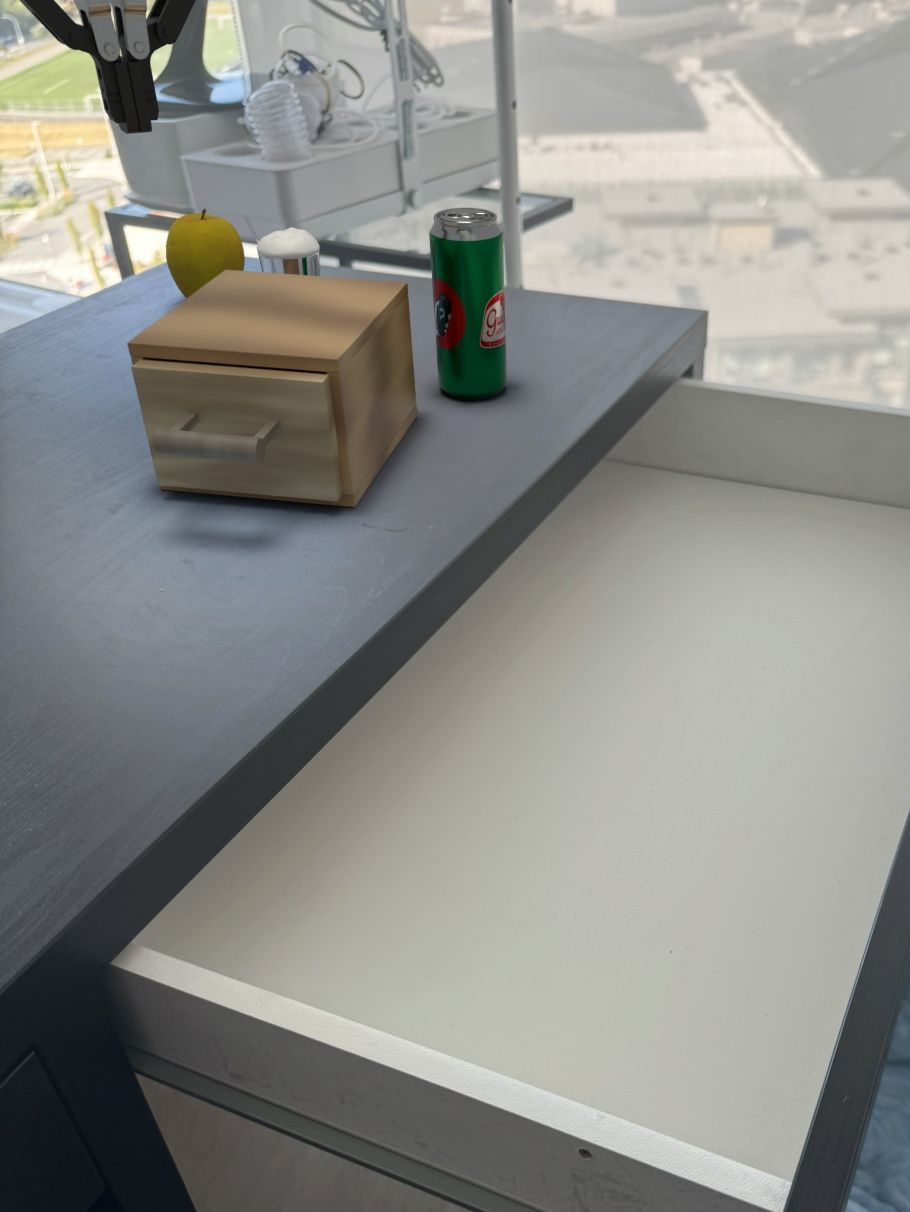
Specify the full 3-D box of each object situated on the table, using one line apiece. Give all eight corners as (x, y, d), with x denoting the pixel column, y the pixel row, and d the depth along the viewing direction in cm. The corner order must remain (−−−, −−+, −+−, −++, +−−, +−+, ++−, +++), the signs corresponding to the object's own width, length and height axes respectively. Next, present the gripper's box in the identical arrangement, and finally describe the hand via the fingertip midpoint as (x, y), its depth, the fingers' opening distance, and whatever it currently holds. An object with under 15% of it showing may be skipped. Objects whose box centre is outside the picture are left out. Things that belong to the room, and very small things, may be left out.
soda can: (498, 405, 85) (492, 227, 77) (430, 399, 85) (418, 222, 78) (513, 380, 88) (510, 208, 81) (449, 374, 89) (439, 203, 81)
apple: (232, 321, 97) (215, 217, 92) (162, 313, 98) (141, 211, 93) (265, 297, 102) (250, 198, 97) (197, 291, 103) (179, 192, 98)
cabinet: (354, 507, 72) (337, 359, 66) (160, 489, 73) (126, 342, 67) (417, 416, 83) (407, 282, 77) (247, 401, 84) (225, 269, 78)
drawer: (313, 534, 67) (296, 411, 62) (126, 517, 68) (94, 394, 63) (399, 415, 80) (390, 306, 76) (241, 402, 82) (222, 294, 77)
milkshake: (277, 342, 93) (257, 207, 87) (340, 349, 93) (325, 213, 86) (253, 362, 90) (231, 223, 84) (319, 369, 89) (301, 228, 83)
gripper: (167, -247, 64) (222, 111, 75) (-96, -260, 59) (6, 128, 70) (211, -250, 59) (263, 133, 71) (-70, -265, 54) (34, 153, 65)
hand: (135, 130), depth 70 cm, fingers closed
